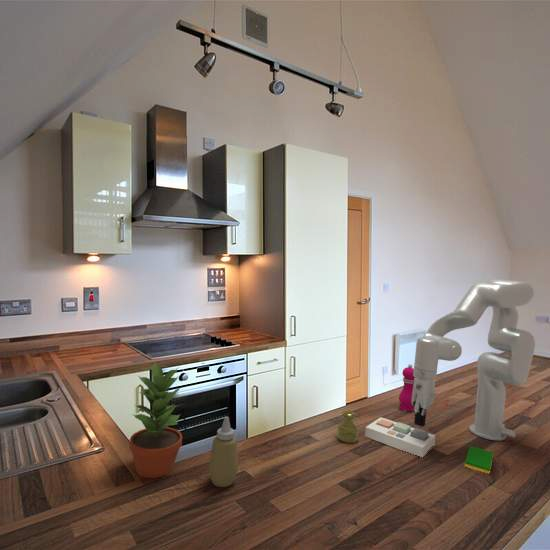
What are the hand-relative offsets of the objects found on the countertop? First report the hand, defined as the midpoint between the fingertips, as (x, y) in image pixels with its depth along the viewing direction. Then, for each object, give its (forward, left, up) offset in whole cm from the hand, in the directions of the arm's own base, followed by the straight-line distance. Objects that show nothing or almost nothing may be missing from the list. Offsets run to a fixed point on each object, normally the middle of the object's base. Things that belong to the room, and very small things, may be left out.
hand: (419, 424), depth 138 cm
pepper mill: (+16, -32, -8) cm, 37 cm away
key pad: (+6, +1, -8) cm, 10 cm away
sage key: (+6, 0, -5) cm, 8 cm away
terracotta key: (+13, 0, -6) cm, 14 cm away
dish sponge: (-19, -4, -8) cm, 21 cm away
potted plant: (+49, +73, -8) cm, 88 cm away
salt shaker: (+20, +14, -8) cm, 26 cm away
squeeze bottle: (+31, +64, -8) cm, 72 cm away
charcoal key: (0, 0, -5) cm, 6 cm away
